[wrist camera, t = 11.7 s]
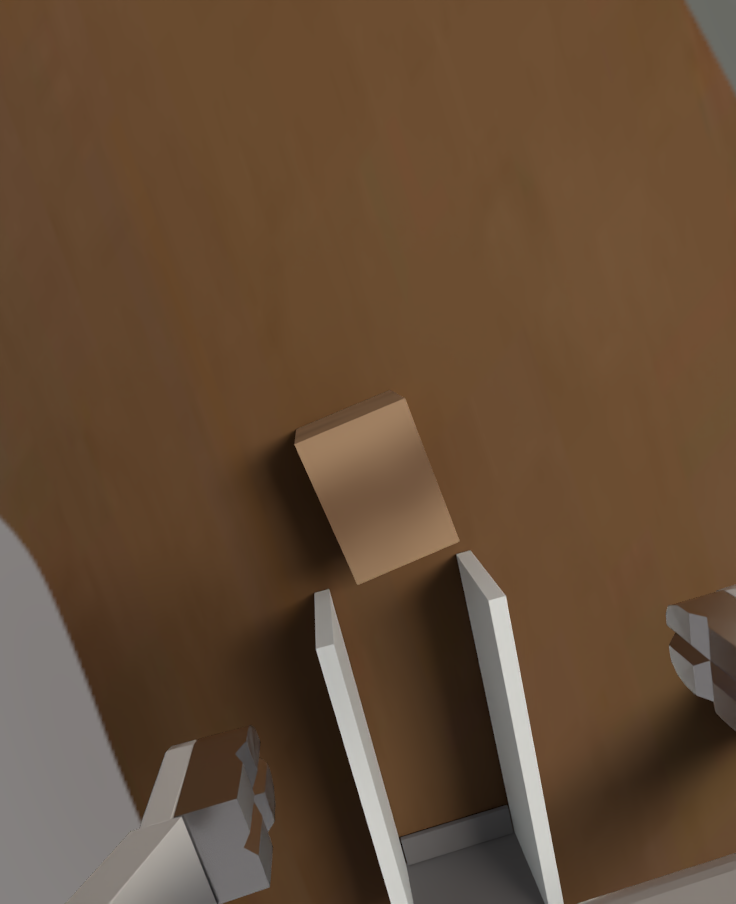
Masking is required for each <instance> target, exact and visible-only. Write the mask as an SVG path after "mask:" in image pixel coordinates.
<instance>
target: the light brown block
mask: <svg viewBox="0 0 736 904" xmlns="http://www.w3.org/2000/svg"><path fill="white" fill-rule="evenodd" d="M294 445H295V447H296V449H297V452H298V454H299V456H300V458H301V460H302V463H303V465H304V467H305V469H306V472H307V474H308V476H309V478H310V480H311V483H312V485H313V487H314V489H315V492H316V494H317V496H318V498H319V500H320V503H321V505H322V507H323V509H324V512H325V514H326V516H327V518H328V521H329V523H330V525H331V527H332V529H333V532H334V534H335V536H336V538H337V541H338V543H339V545H340V547H341V549H342V552H343V554H344V556H345V558H346V561H347V563H348V565H349V567H350V569H351V572H352V574H353V576H354V578H355V581H356V583H357V585H359V584H361V583H364V582H366V581H368V580H371V579H373V578H375V577H378V576H380V575H382V574H385V573H387V572H389V571H392V570H394V569H396V568H399V567H401V566H403V565H406V564H408V563H410V562H413V561H415V560H417V559H420V558H422V557H424V556H427V555H429V554H431V553H434V552H436V551H438V550H441V549H443V548H445V547H448V546H450V545H452V544H455V543H457V542H459V538H458V535H457V533H456V530H455V528H454V525H453V522H452V520H451V517H450V515H449V512H448V509H447V507H446V504H445V502H444V499H443V496H442V494H441V491H440V488H439V486H438V483H437V481H436V478H435V475H434V473H433V470H432V468H431V465H430V462H429V460H428V457H427V454H426V452H425V449H424V447H423V444H422V441H421V439H420V436H419V434H418V431H417V428H416V426H415V423H414V421H413V418H412V415H411V413H410V410H409V407H408V405H407V402H406V400H405V398H404V397H402V396H400V395H399V394H397V393H395V392H393V391H392V390H389V391H386V392H384V393H382V394H379V395H377V396H374V397H372V398H370V399H367V400H365V401H362V402H360V403H358V404H355V405H353V406H351V407H348V408H346V409H343V410H341V411H339V412H336V413H334V414H331V415H329V416H327V417H324V418H322V419H319V420H317V421H315V422H312V423H310V424H307V425H305V426H303V427H300V428H298V429H296V435H295V443H294Z"/></svg>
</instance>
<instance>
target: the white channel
mask: <svg viewBox="0 0 736 904" xmlns="http://www.w3.org/2000/svg"><path fill="white" fill-rule="evenodd" d="M456 556H457V561H458V565H459V570H460V575H461V580H462V585H463V589H464V594H465V599H466V604H467V608H468V613H469V618H470V623H471V627H472V632H473V637H474V642H475V647H476V651H477V656H478V661H479V666H480V670H481V675H482V680H483V685H484V689H485V694H486V699H487V704H488V709H489V713H490V718H491V723H492V728H493V732H494V737H495V742H496V747H497V752H498V756H499V761H500V766H501V771H502V775H503V780H504V785H505V790H506V794H507V799H508V804H509V809H510V814H511V818H512V823H513V828H514V831H513V828H512V823H511V818H510V814H509V809H508V806H507V805H505V806H501V807H498V808H495V809H491V810H488V811H485V812H482V813H478V814H475V815H472V816H469V817H465V818H462V819H459V820H455V821H452V822H449V823H446V824H442V825H439V826H436V827H433V828H429V829H426V830H423V831H419V832H416V833H413V834H410V835H406V836H403V837H400V838H401V843H402V846H403V850H404V853H405V857H406V860H407V864H406V862H405V858H404V855H403V851H402V848H401V844H400V840H399V837H398V833H397V830H396V826H395V823H394V819H393V815H392V812H391V808H390V805H389V801H388V798H387V794H386V790H385V787H384V783H383V780H382V776H381V773H380V769H379V765H378V762H377V758H376V755H375V751H374V748H373V744H372V740H371V737H370V733H369V730H368V726H367V723H366V719H365V715H364V712H363V708H362V705H361V701H360V698H359V694H358V690H357V687H356V683H355V680H354V676H353V672H352V669H351V665H350V662H349V658H348V655H347V651H346V647H345V644H344V640H343V637H342V633H341V630H340V626H339V622H338V619H337V615H336V612H335V608H334V605H333V601H332V597H331V594H330V590H329V589H327V590H323V591H320V592H316V593H314V600H315V640H316V652H317V655H318V658H319V662H320V665H321V668H322V672H323V675H324V679H325V682H326V685H327V689H328V692H329V695H330V699H331V702H332V706H333V709H334V712H335V716H336V719H337V722H338V726H339V729H340V733H341V736H342V739H343V743H344V746H345V750H346V753H347V756H348V760H349V763H350V766H351V770H352V773H353V777H354V780H355V783H356V787H357V790H358V793H359V797H360V800H361V804H362V807H363V810H364V814H365V817H366V820H367V824H368V827H369V831H370V834H371V837H372V841H373V844H374V847H375V851H376V854H377V858H378V861H379V864H380V868H381V871H382V874H383V878H384V881H385V885H386V888H387V891H388V895H389V898H390V901H391V904H564V903H563V898H562V892H561V887H560V882H559V876H558V871H557V866H556V860H555V855H554V850H553V845H552V839H551V834H550V829H549V823H548V818H547V813H546V807H545V802H544V797H543V791H542V786H541V781H540V775H539V770H538V765H537V759H536V754H535V749H534V744H533V738H532V733H531V728H530V722H529V717H528V712H527V706H526V701H525V696H524V690H523V685H522V680H521V674H520V669H519V664H518V658H517V653H516V648H515V643H514V637H513V632H512V627H511V621H510V616H509V611H508V605H507V600H506V596H505V594H504V593H503V592H502V590H501V589H500V588H499V587H498V585H497V584H496V583H495V581H494V580H493V579H492V578H491V576H490V575H489V574H488V572H487V571H486V570H485V568H484V567H483V566H482V565H481V563H480V562H479V561H478V559H477V558H476V557H475V556H474V554H473V553H472V552H471V550H470V551H466V552H463V553H459V554H456Z"/></svg>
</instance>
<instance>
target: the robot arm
mask: <svg viewBox="0 0 736 904" xmlns="http://www.w3.org/2000/svg"><path fill="white" fill-rule="evenodd" d="M666 620H667V625H668V626H669V627H670V628H671V629H672V630H673V631H674V632H675V634H674V636H673V638H672V640H671V642H670V644H669V649H670V656H671V661H672V663H673V665H674V667H675V670H676V672H677V674H678V676H679V677H680V678H681V680H682V681H683V682H684V684H685V685H686V686H687V687H688V688H689V689H690V690H691V691H692V692H693V693H694V694H695V695H697V696H700V697H702V698H705V699H708V700H711V701H713V702H714V707H715V713H716V714H717V715H718V716H719V717H720V718H722V719H723V720H724V721H725V722H726V723H727V724H728V725H729V726H730V727H732V728H733V729H734V730H735V731H736V585H733V586H730V587H726V588H723V589H720V590H717V591H716V592H713V593H710V594H706V595H703V596H700V597H696V598H693V599H689V600H686V601H682V602H679V603H676V604H672V605H669V606H668V608H667V611H666ZM259 751H260V740H259V737H258V735H257V732H256V729H255V728H254V727H253V726H252V725H249V726H245V727H241V728H237V729H234V730H230V731H226V732H222V733H218V734H214V735H211V736H207V737H203V738H199V739H198V740H193V741H189V742H185V743H182V744H178V745H174V746H171V747H170V748H169V749H168V750H167V751H166V753H165V756H164V759H163V761H162V764H161V767H160V770H159V773H158V776H157V779H156V782H155V784H154V787H153V790H152V793H151V796H150V799H149V802H148V805H147V807H146V810H145V813H144V816H143V819H142V822H141V825H140V828H139V829H137V830H134V831H130V833H128V835H127V836H126V837H125V838H124V839H123V840H122V841H121V842H120V843H119V845H118V846H117V847H116V848H115V849H114V850H113V851H112V852H111V853H110V855H109V856H108V857H107V858H106V859H105V860H104V861H103V862H102V863H101V864H100V866H99V867H98V868H97V869H96V870H95V871H94V872H93V873H92V874H91V875H90V877H89V878H88V879H87V880H86V881H85V882H84V883H83V884H82V885H81V886H80V888H79V889H78V890H77V891H76V892H75V893H74V894H73V895H72V896H71V898H70V899H69V900H68V901H67V902H66V903H65V904H222V903H225V902H228V901H231V900H234V899H236V898H239V897H242V896H245V895H248V894H251V893H254V892H257V891H260V890H263V889H266V888H269V887H270V878H271V865H272V851H273V845H272V843H271V840H270V837H269V834H268V831H269V829H270V828H271V826H272V825H273V823H274V822H275V795H274V785H273V781H272V776H271V772H270V769H269V766H268V763H267V762H266V761H265V760H263V759H262V758H260V757H259ZM578 904H736V853H734V854H731V855H727V856H724V857H721V858H718V859H715V860H712V861H709V862H706V863H703V864H699V865H696V866H693V867H690V868H687V869H684V870H681V871H678V872H674V873H671V874H668V875H665V876H662V877H659V878H656V879H653V880H650V881H646V882H643V883H640V884H637V885H634V886H631V887H628V888H625V889H621V890H618V891H615V892H612V893H609V894H606V895H603V896H600V897H597V898H593V899H590V900H587V901H584V902H581V903H578Z"/></svg>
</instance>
